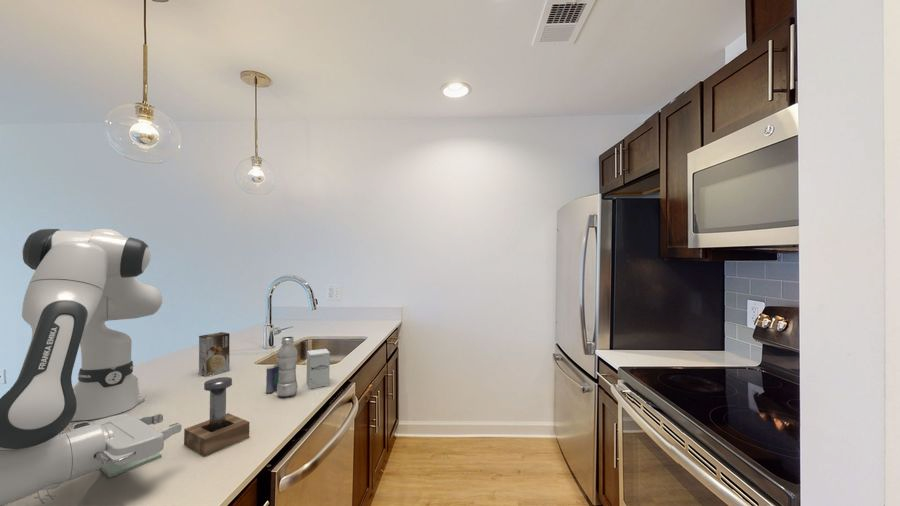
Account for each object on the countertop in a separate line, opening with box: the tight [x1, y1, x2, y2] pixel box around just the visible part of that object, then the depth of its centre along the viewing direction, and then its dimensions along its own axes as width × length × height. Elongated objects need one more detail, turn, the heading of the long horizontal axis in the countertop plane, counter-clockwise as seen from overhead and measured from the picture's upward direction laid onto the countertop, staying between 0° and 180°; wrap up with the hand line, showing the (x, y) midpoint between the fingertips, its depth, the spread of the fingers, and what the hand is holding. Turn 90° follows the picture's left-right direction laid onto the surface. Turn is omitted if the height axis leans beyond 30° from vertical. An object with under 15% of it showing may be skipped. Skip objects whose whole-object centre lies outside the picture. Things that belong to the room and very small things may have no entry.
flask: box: [265, 359, 279, 394], centre depth 125 cm, size 9×3×11 cm, turn 151°
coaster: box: [100, 452, 162, 478], centre depth 80 cm, size 9×9×1 cm
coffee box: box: [198, 331, 231, 377], centre depth 144 cm, size 9×6×16 cm
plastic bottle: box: [276, 336, 299, 398], centre depth 119 cm, size 6×7×20 cm
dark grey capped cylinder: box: [203, 376, 233, 432], centre depth 89 cm, size 6×6×15 cm
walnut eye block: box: [183, 412, 251, 457], centre depth 89 cm, size 10×10×4 cm
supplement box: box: [306, 348, 331, 390], centre depth 130 cm, size 7×7×13 cm
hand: (170, 421), depth 80 cm, fingers open, 8 cm apart
